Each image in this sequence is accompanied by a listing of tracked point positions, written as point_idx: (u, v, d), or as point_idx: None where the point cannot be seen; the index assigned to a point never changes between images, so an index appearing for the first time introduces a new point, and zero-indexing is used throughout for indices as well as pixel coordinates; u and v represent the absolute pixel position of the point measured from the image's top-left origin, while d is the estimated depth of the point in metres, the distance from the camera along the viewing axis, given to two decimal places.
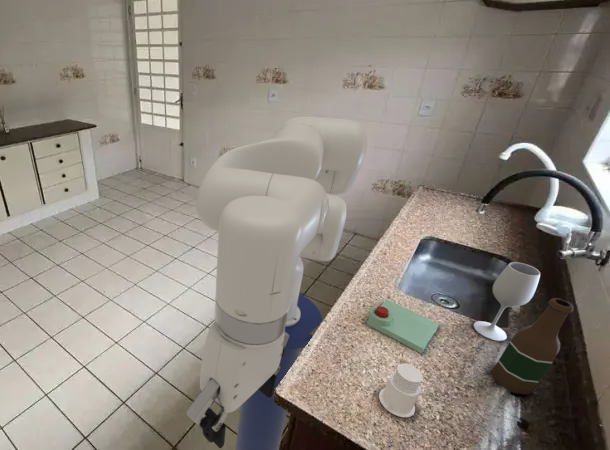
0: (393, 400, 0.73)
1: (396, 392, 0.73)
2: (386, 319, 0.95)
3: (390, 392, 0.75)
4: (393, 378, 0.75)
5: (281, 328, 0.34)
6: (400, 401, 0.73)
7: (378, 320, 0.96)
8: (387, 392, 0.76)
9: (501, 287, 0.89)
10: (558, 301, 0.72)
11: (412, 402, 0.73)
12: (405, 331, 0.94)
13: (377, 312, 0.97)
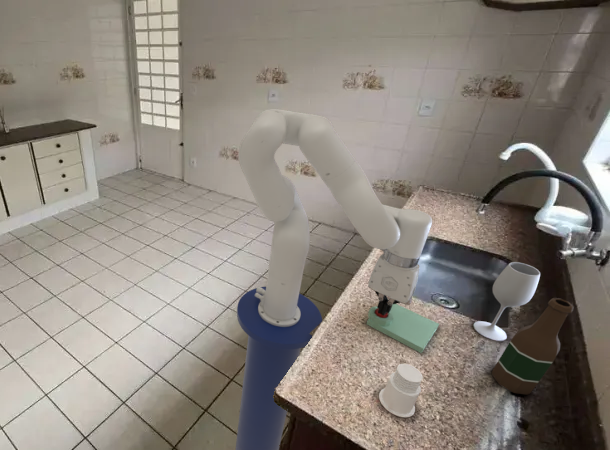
0: (393, 400, 0.73)
1: (396, 392, 0.73)
2: (386, 319, 0.95)
3: (390, 392, 0.75)
4: (393, 378, 0.75)
5: None
6: (400, 401, 0.73)
7: (378, 320, 0.96)
8: (387, 392, 0.76)
9: (501, 287, 0.89)
10: (558, 301, 0.72)
11: (412, 402, 0.73)
12: (405, 331, 0.94)
13: (376, 314, 0.97)
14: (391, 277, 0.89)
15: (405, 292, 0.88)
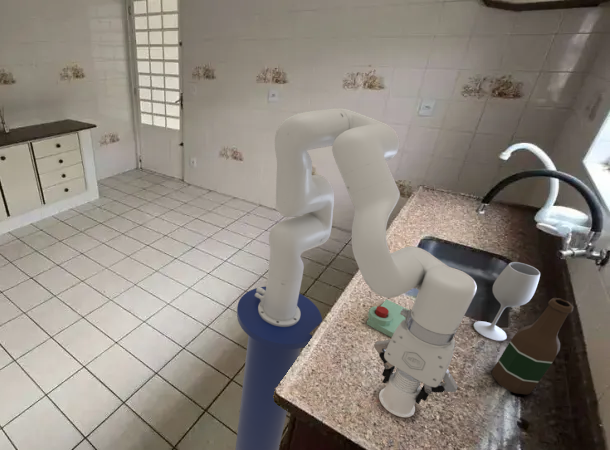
0: (393, 400, 0.73)
1: (396, 392, 0.73)
2: (386, 319, 0.95)
3: (390, 392, 0.75)
4: (393, 378, 0.75)
5: None
6: (400, 401, 0.73)
7: (378, 320, 0.96)
8: (387, 392, 0.76)
9: (501, 287, 0.89)
10: (558, 301, 0.72)
11: (412, 402, 0.73)
12: None
13: (377, 312, 0.97)
14: (415, 353, 0.68)
15: (435, 375, 0.66)
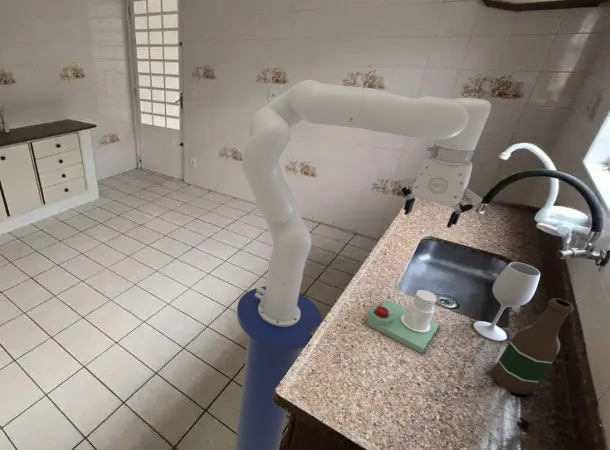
0: (413, 318, 0.92)
1: (416, 311, 0.92)
2: (386, 319, 0.95)
3: (410, 313, 0.94)
4: (413, 302, 0.94)
5: None
6: (419, 319, 0.92)
7: (378, 320, 0.96)
8: (408, 313, 0.95)
9: (501, 287, 0.89)
10: (558, 301, 0.72)
11: (428, 319, 0.92)
12: (405, 331, 0.94)
13: (377, 312, 0.97)
14: (439, 177, 0.83)
15: (456, 192, 0.81)
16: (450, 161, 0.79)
